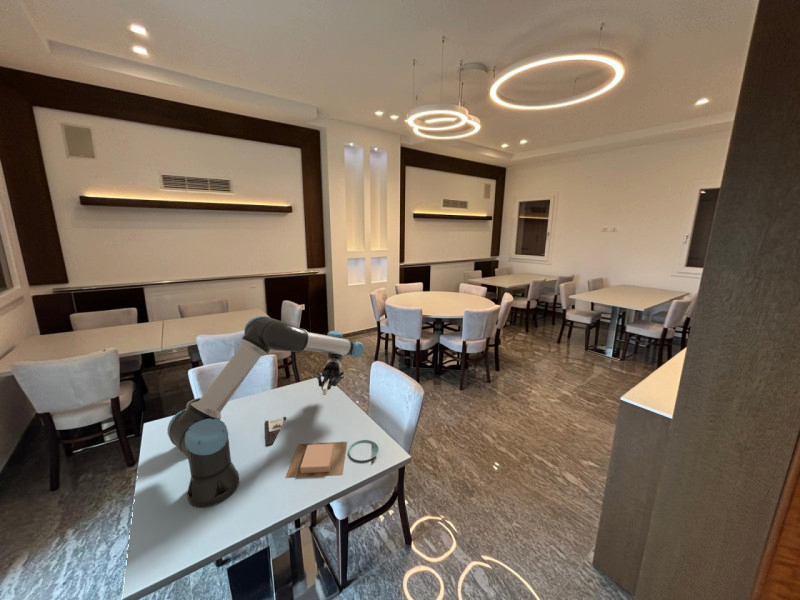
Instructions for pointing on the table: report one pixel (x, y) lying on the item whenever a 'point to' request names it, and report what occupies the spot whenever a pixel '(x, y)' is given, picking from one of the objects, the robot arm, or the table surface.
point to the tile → (317, 458)
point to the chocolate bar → (273, 429)
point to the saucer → (373, 448)
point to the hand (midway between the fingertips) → (324, 391)
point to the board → (335, 469)
